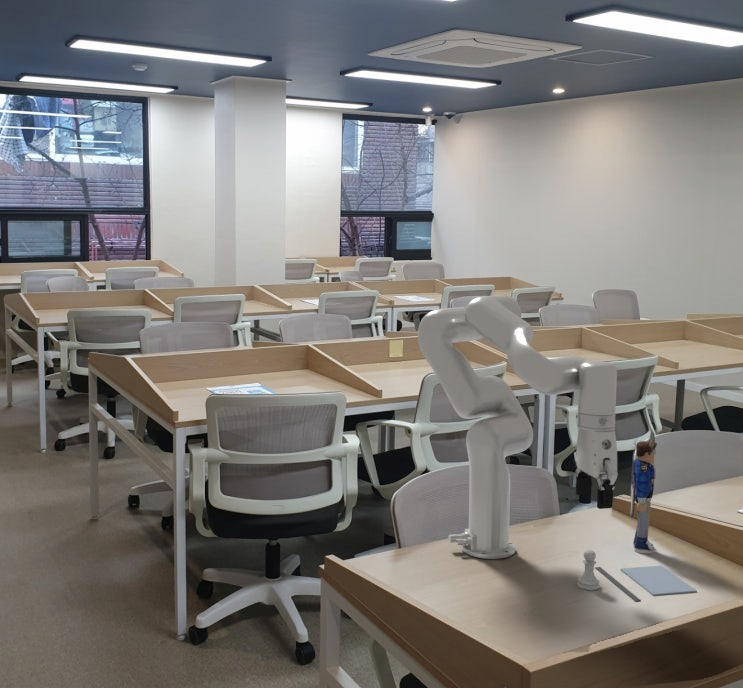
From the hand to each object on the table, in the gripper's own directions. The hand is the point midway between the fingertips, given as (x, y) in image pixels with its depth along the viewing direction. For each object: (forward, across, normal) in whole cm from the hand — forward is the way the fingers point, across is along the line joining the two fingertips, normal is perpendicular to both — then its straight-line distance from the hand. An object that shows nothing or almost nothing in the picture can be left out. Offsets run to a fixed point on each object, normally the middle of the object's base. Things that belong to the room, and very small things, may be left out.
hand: (593, 501), depth 179 cm
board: (+19, 0, -13) cm, 23 cm away
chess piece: (+19, 0, 0) cm, 19 cm away
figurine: (+19, +18, -22) cm, 34 cm away
